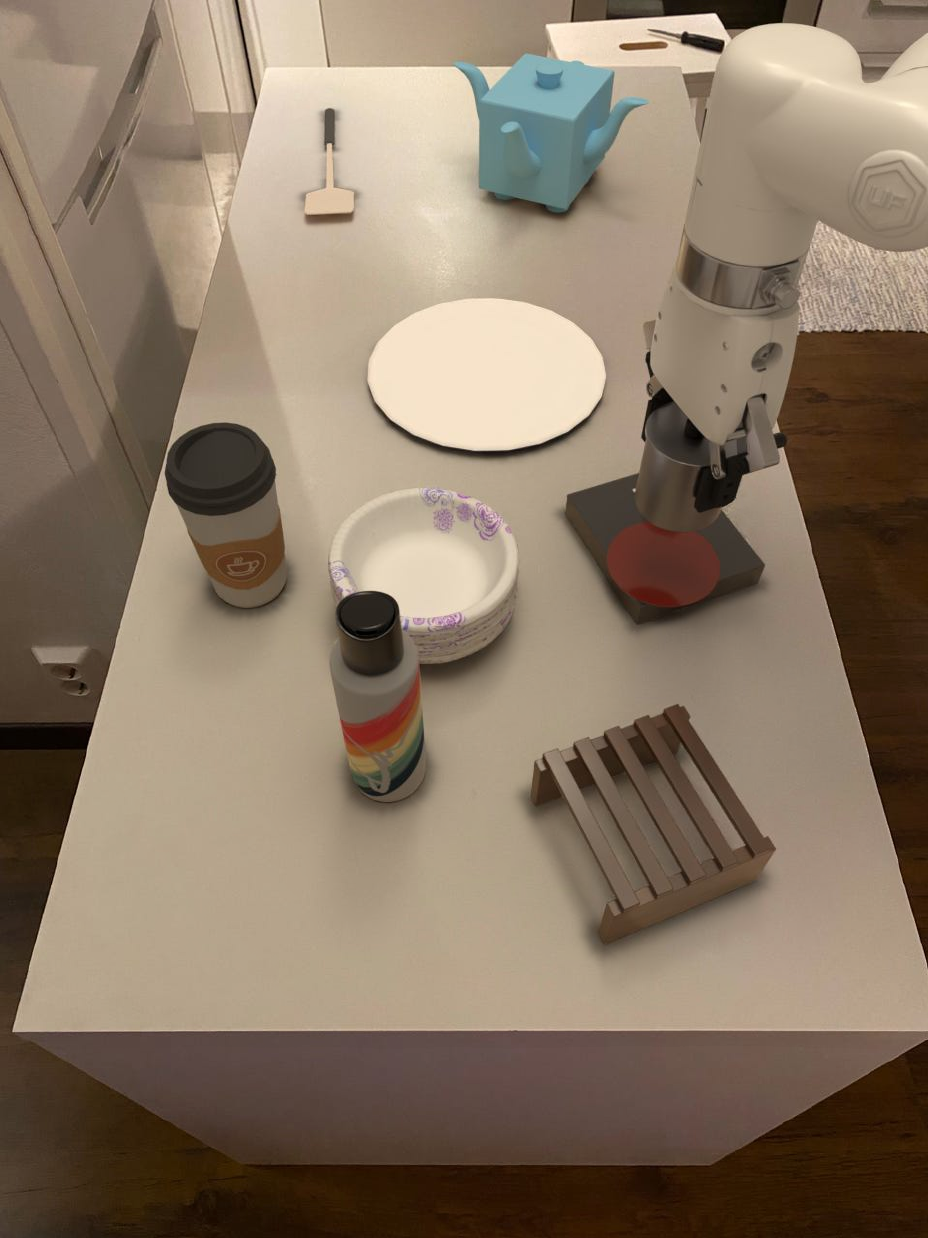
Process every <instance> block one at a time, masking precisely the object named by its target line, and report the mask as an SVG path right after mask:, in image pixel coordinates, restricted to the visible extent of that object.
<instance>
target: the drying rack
mask: <svg viewBox="0 0 928 1238" xmlns="http://www.w3.org/2000/svg"><path fill="white" fill-rule="evenodd" d="M690 719H691V715H690V713H689V711H688V710H687V708H686V706H685V705H681V706H680V704H679V703H676V704H674V705H671V706H667V707H665V708H663V711H662V713H660V714H657V715H654V716H650V714H646V715H644V716H642V717H638V718H635V719H634V720H633V723H632V724H630V725H627V726H624V727H622V728H621V727H620V725H617V726H614V727H610V728H608V729H605V730H604V731H603V734H602V735H601V736H598V737H594V738H590V737H589V736H587V737H583V738H582V739H578V740H576V741H574V742H573V745H572V746H570V747H568V748H565V749H562V750H560V749H559V748H554V749H552V750H549V751H546V752H544V753H542V757H541V758H537V759H536V760H534V763H533V771H532V780H531V787H530V798H531V800H532V802H533V804H534V806H535V807H539V806H541V805H544V804H547V803H548V802H551V801H554V800H556V799H559V798H563V800H564V803H565V804H566V806H567V808H568V810H569V812H570V814H571V816H572V819H573V820H574V822H575V824H576V826H577V828H578V830H579V831H580V833H581V835H582V837H583V839H584V841H585V843H586V845H587V847H588V849H589V850H590V852H591V855H592V857H593V858H594V860H595V862H596V864H597V866H598V868H599V870H600V872H601V874H602V876H603V878H604V880H605V882H606V884H607V886H608V888H609V890H610V891H611V893H612V895H613V897H614V899H613V900H611V901H608V902H607V903H606V904H605V908H604V911H603V915H602V918H601V921H600V924H599V927H598V930H597V933H598V935H599V938H600V939H601V942H602V943H603V945H604V946H606V945H608V944H610V943H613V942H615V941H618V940H620V939H622V938H625V937H628V936H630V935H632V934H635V933H636V932H639V931H641V930H643V929H645V928H648V927H650V926H653V925H655V924H658V923H660V922H661V921H664V920H667V919H669V918H671V917H675V916H677V915H679V914H681V913H684V912H686V911H688V910H690V909H693V908H695V907H697V906H700V905H702V904H704V903H708V902H710V901H712V900H714V899H716V898H718V897H721V896H723V895H725V894H728V893H730V892H733V891H735V890H737V889H739V888H742V887H745V886H747V885H749V884H751V883H753V882H756V881H758V878H759V877H760V875H761V874H762V872H763V870H764V869H765V868H766V866H767V864H768V863H769V861H770V860H771V859H772V857H773V855H774V853H775V852H776V851H777V847H776V846H775V844H774V843H773V841H772V840H771V838H770V837H769V836H764V835H763V834H762V832H761V831H760V829H759V827H758V826H757V824H756V823H755V821H754V819H753V818H752V817H751V815H750V813H749V812H748V810H747V809H746V807H745V806H744V804H743V803H742V801H741V800H740V798H739V796H738V794H737V793H736V792H735V790H734V789H733V787H732V786H731V783H730V782H729V780H728V779H727V778H726V776H725V775H724V773H723V771H722V770H721V768H720V767H719V765H718V764H717V762H716V760H715V759H714V758H713V756H712V753H710V751H709V749H708V748H707V747H706V745H705V743H704V742H703V740H702V739H701V737H700V735H699V734H698V733H697V731H696V729H695V728H694V726H693V725H692V723H691V721H690ZM681 745H682V746H683V748H684V750H685V751H686V754H688V756H689V758H690V760H691V761H692V762H693V764H694V766H695V768H696V769H697V771H698V772H699V774H700V775H701V777H702V779H703V780H704V782H705V783H706V785H707V786H708V788H709V789H710V792H711V793H712V795H713V796H714V798H715V799H716V801H717V802H718V804H719V806H720V807H721V809H722V810H723V812H724V814H725V816H726V817H727V818H728V820H729V822H730V823H731V825H732V826H733V828H734V830H735V832H736V833H737V834H738V836H739V838H740V839H741V841H742V843H743V844H744V845H743V846H741V847H738V848H736V849H733V850H732V848H731V846H730V844H729V843H728V841H727V839H726V838H725V836H724V834H723V833H722V832H721V829H720V828H719V827H718V825H717V823H716V822H715V820H714V818H713V817H712V815H711V813H710V812H709V810H708V809H707V807H706V806H705V804H704V802H703V800H702V799H701V797H700V795H699V794H698V793H697V790H696V789H695V788H694V785H692V783H691V781H690V779H689V778H688V776H687V774H686V773H685V772H684V769H683V768H682V766H681V764H680V763H679V762H678V759H677V758H676V756H675V754H677V753H678V752H679V749H680V746H681ZM653 762H655V763H656V764H657V766H658V768H659V770H660V771H661V773H662V774H663V776H664V777H665V780H666V781H667V783H668V785H669V786H670V788H671V789H672V791H673V792H674V794H675V796H676V798H677V800H678V801H679V803H680V805H681V806H682V807H683V810H684V811H685V813H686V815H687V816H688V818H689V819H690V821H691V822H692V824H693V826H694V828H695V830H696V831H697V833H698V834H699V836H700V838H701V840H702V842H703V843H704V844H705V846H706V848H707V849H708V852H709V853H710V854H711V856H712V858H711V859H709V860H707V861H705V862H702V863H700V861H699V860H698V858H697V855H696V854H695V853H694V850H693V849H692V848H691V845H690V844H689V842H688V841H687V839H686V837H685V836H684V834H683V832H682V830H681V829H680V827H679V825H678V824H677V822H676V820H675V819H674V817H673V815H672V814H671V811H670V810H669V808H668V807H667V805H666V803H665V802H664V800H663V798H662V797H661V795H660V793H659V792H658V790H657V788H656V786H655V784H654V783H653V781H652V779H651V778H650V776H649V775H648V772H647V771H646V769H645V767H644V766H646V765H648V764H651V763H653ZM622 774H625V776H626V777H627V779H628V781H629V782H630V784H631V786H632V787H633V789H634V791H635V793H636V795H637V796H638V799H639V800H640V801H641V804H642V805H643V807H644V809H645V810H646V812H647V814H648V815H649V818H650V819H651V821H652V823H653V824H654V826H655V828H656V830H657V831H658V833H659V835H660V837H661V838H662V840H663V842H664V843H665V845H666V848H667V849H668V850H669V852H670V855H672V858H673V859H674V861H675V863H676V865H677V866H678V868H679V870H680V872H678V873H675V874H673V875H671V876H669V877H668V875H667V874H666V871H665V870H664V869H663V867H662V865H661V863H660V862H659V859H658V858H657V856H656V854H655V852H654V851H653V849H652V847H651V845H650V844H649V842H648V840H647V837H646V836H645V835H644V832H643V831H642V829H641V828H640V826H639V824H638V822H637V820H636V819H635V817H634V815H633V813H632V812H631V810H630V808H629V806H628V804H627V803H626V802H627V801H625V799H624V797H623V795H622V794H621V792H620V790H619V788H618V786H617V785H616V783H615V781H614V779H613V778H615V777H617V776H619V775H622ZM593 785H594V787H595V790H596V791H597V793H598V795H599V797H600V798H601V800H602V802H603V804H604V805H605V808H606V809H607V812H608V813H609V815H610V817H611V819H612V821H613V822H614V824H615V826H616V828H617V829H618V831H619V833H620V834H621V837H622V838H623V840H624V842H625V844H626V846H627V848H628V850H629V852H630V853H631V855H632V857H633V859H634V861H635V862H636V864H637V867H638V869H639V870H640V872H641V874H642V875H643V877H644V879H645V881H646V883H647V885H646V886H644V887H642V888H639V889H637V890H634V888H633V886H632V885H631V883H630V881H629V879H628V877H627V875H626V873H625V871H624V869H623V867H622V866H621V864H620V862H619V860H618V858H617V856H616V855H615V853H614V850H613V849H612V846H611V845H610V843H609V841H608V839H607V838H606V835H605V834H604V831H603V829H602V828H601V826H600V824H599V822H598V820H597V819H596V817H595V815H594V813H593V811H592V809H591V808H590V806H589V803H588V802H587V800H586V798H585V797H584V794H583V792H582V790H583V789H585V788H588V787H591V786H593Z"/></svg>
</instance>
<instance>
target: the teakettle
mask: <svg viewBox="0 0 928 1238" xmlns="http://www.w3.org/2000/svg"><path fill="white" fill-rule="evenodd" d="M453 66H454V67H455V68H456V69H457V70H459V71H460V72H461V73H462V74H463V75H464V76H465V77H466V79H467V80H468V81H469V84H470V86H471V90H472V93H473V98H474V102H475V108H476V109H475V110H476V113H477V118H478V124H479V125H478V189H479V190H483V191H488V192H491V193H493V195H494V196H495V198H497V199H499V200H503V201H509V200H513V199H515V198H516V199H517V198H518V199H520V200H526V201H530V202H534V203H538V204H542V205H545V207H546V209H547V210H548V211H550V212H552V213H563V212H567V211H568V210H569V209H570V206H571V204H572V203H573V202H574V200H575V198H577V196H578V194H579V193H580V192H581V191H582V189H583V188H584V186H585V185H586V184H588V183H589V182H590V178H591V177H592V176H593V174H594V173H595V172H596V170H597V169H598V168H599V166H600V165H601V163H602V162H603V161H604V159H605V157H606V154H607V153H608V152H609V151H610V149H611V148H612V146H613V145H614V142H615V141H616V139H617V137H618V134H619V132H620V129H621V127H622V124H623V122H624V120H625V118H626V117H627V116H628V115H629V113H630V112H632V111H633V110H634V109H637V108H639V107H641V106H645V105H648V104H649V103H650V100H648V99H647V98H643V97H638V96H627V97H623V98H621V99H619V101H617V102H616V103H615V104H614V105H613V108H611V107H612V99H613V89H614V80H615V71H614V70H613V69H608V68H603V67H599V66H594V65H593V66H592V65H588V64H585V63H584V62H582V61H581V60H571V61H567V60H562V59H557V58H552V57H547V56H542V55H536V54H530V53H527V52H526V53H524V54H523V55H522V56H521V57H520V58H519V59H517V61H516V62H515V63H514V64H513V65H512V66H511V67H510V68H509V69H508V70H507V71H506V72H505V74H503V75H502V76H501V77H500V78H499V79H498V81H497V82H496V83H495V84H494V85H492V87H491V88H490V87H489V84H488V81H487V79H486V77H485V75H484V73H483V72H482V70H480V68H478V67H477V66H476V65H474V64H472V63H469V62H464V61H454V62H453Z"/></svg>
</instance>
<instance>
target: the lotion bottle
mask: <svg viewBox="0 0 928 1238" xmlns="http://www.w3.org/2000/svg"><path fill="white" fill-rule="evenodd" d="M335 623H336V629H337V635H338V638H337V639H336V641H334V643H333V645H332V647H331V650H330V653H329V659H328V661H329V662H328V663H329V665H328V666H329V672H330V677H331V682H332V686H333V687H332V688H333V692H334V697H335V702H336V707H337V711H338V716H339V721H340V726H341V731H342V736H343V741H344V745H345V750H346V755H347V761H348V764H349V770H350V773H351V777H352V779H353V783H354V784H355V786H356V787H357V789H358V790H359V791H360V792H361V793H362V794H363V795H364V796H366V797H367V798H369V799H371V800H373V801H377V802H383V803H392V802H398V801H401V800H404V799H405V798H408V797H409V796H411V795H412V794H413V793H415V792H416V791H417V790H418V789H419V787H421V784H422V783H423V780H424V778H425V776H426V775H425V773H426V771H427V770H426V769H427V756H426V754H427V753H426V741H425V740H426V739H425V728H424V727H425V725H424V713H423V698H422V684H421V670H420V664H419V657H418V651H417V648H416V645H415V643H414V641H413V639H412V638H411V637H410V636H409V635H408V634H407V633H406V632H405V631H404V630H402V627H401V618H400V610H399V606H398V603H397V601H396V600H395V599H394V598H393V597H392V596H390V595H389V594H386V593H383V592H379V591H361V592H356V593H353V594H350V595H348V596H346V597H345V598H343V599H342V600H341V601H340V602H339V604H338V606H337V608H335Z"/></svg>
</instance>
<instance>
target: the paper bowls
mask: <svg viewBox="0 0 928 1238" xmlns="http://www.w3.org/2000/svg"><path fill="white" fill-rule="evenodd" d="M329 547H330V548H329V552H328V557H327V558H328V559H327V560H328V562H327V566H328V576H329V578H330V579H329V580H330V581H329V582H330V588H331V594H332V599H333V605H334V607H335V609H336V608H337V606H338V604H339V602H340V601H341V600H342V599H343V598H345V597H346V596H348V595H350V594H353V593H356V592H361V591H379V592H383V593H386V594H389V595H390V596H392V597H393V598H394V599H395V600H396V601H397V603H398V606H399V610H400V618H401V627H402V630H404V631H405V632H406V633H407V634H408V635H409V636H410V637H411V638H412V639H413V641H414V643H415V645H416V648H417V651H418V657H419V665H420V664H423V665H425V664H427V665H428V664H430V665H431V664H433V665H434V664H443V663H444V664H445V663H449V662H454V661H456V660H459V659H463V658H466V657H469V656H470V655H473V654H474V653H476V652H478V651H480V650H482V649H484V648H485V647H487V646H488V645H489V644H491V643H492V642H493V641H494V640H495V639H496V638H497V637H498V636H499V635H500V634H501V633H502V632H503V631H504V629H505V628H506V626H507V624H508V623H510V622H509V621H510V620H511V618H512V616H513V613H514V611H515V606H516V604H517V598H518V584H519V583H518V581H519V572H520V571H519V570H520V550H519V544H518V541H517V539H516V537H515V535H514V532H513V531H512V529H511V528H510V526H509V525H508V523H507V522H506V521H505V520H504V518H502V516H500V515H499V513H498V512H497V511H496V510H494V509H493V508H491V507H490V506H489V505H487V504H485V503H484V502H482V501H480V500H479V499H476V498H474V497H472V496H470V495H468V494H465V493H462V492H458V491H456V490H455V491H454V490H450V489H445V488H438V487H413V488H404V489H399V490H394V491H391V492H388V493H385V494H382V495H379V496H377V497H375V498H371V500H368V501H366V502H365V503H363V504H362V505H361V506H358V507H357V508H356V509H355V510H353V511H352V513H350V514H349V515H348V516H347V517H346V518H345V519H344V521H342V523H341V525H340V526H339V527H338V528H337V530H336V532H335V534H334V536H333V538H332V540H331V544H330V546H329Z"/></svg>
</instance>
